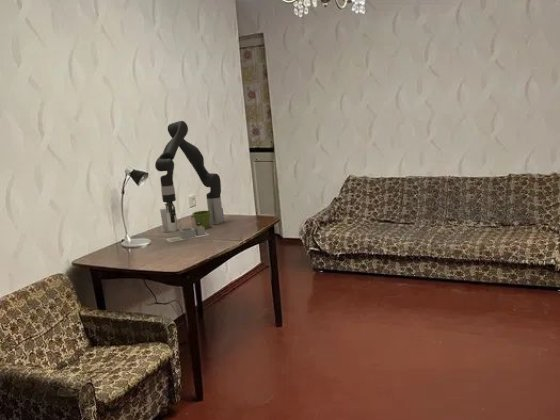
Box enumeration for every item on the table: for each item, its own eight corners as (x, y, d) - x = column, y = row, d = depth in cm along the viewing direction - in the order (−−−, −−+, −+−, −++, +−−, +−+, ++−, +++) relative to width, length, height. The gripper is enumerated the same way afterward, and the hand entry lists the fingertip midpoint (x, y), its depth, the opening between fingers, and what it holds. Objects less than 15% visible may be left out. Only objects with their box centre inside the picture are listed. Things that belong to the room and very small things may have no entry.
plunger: (202, 232, 320) (201, 221, 318) (204, 233, 316) (203, 222, 315) (196, 233, 318) (195, 222, 317) (198, 235, 314) (196, 224, 313)
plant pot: (190, 232, 332) (188, 214, 330) (200, 227, 343) (198, 210, 341) (207, 232, 328) (205, 214, 326) (216, 227, 338) (214, 210, 336)
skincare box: (178, 229, 342) (175, 206, 339) (175, 232, 336) (172, 208, 333) (166, 230, 343) (163, 206, 340) (162, 232, 337) (159, 209, 334)
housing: (204, 234, 323) (203, 224, 322) (209, 237, 314) (208, 227, 313) (166, 241, 314) (164, 231, 313) (170, 244, 305) (168, 234, 304)
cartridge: (169, 229, 312) (168, 209, 310) (177, 229, 311) (176, 209, 309) (166, 230, 307) (165, 210, 305) (174, 231, 307) (172, 210, 304)
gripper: (177, 193, 300) (181, 222, 304) (171, 190, 313) (175, 219, 316) (164, 195, 297) (168, 225, 301) (159, 192, 310) (162, 221, 313)
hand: (172, 221), depth 309 cm, fingers closed on cartridge, 4 cm apart
